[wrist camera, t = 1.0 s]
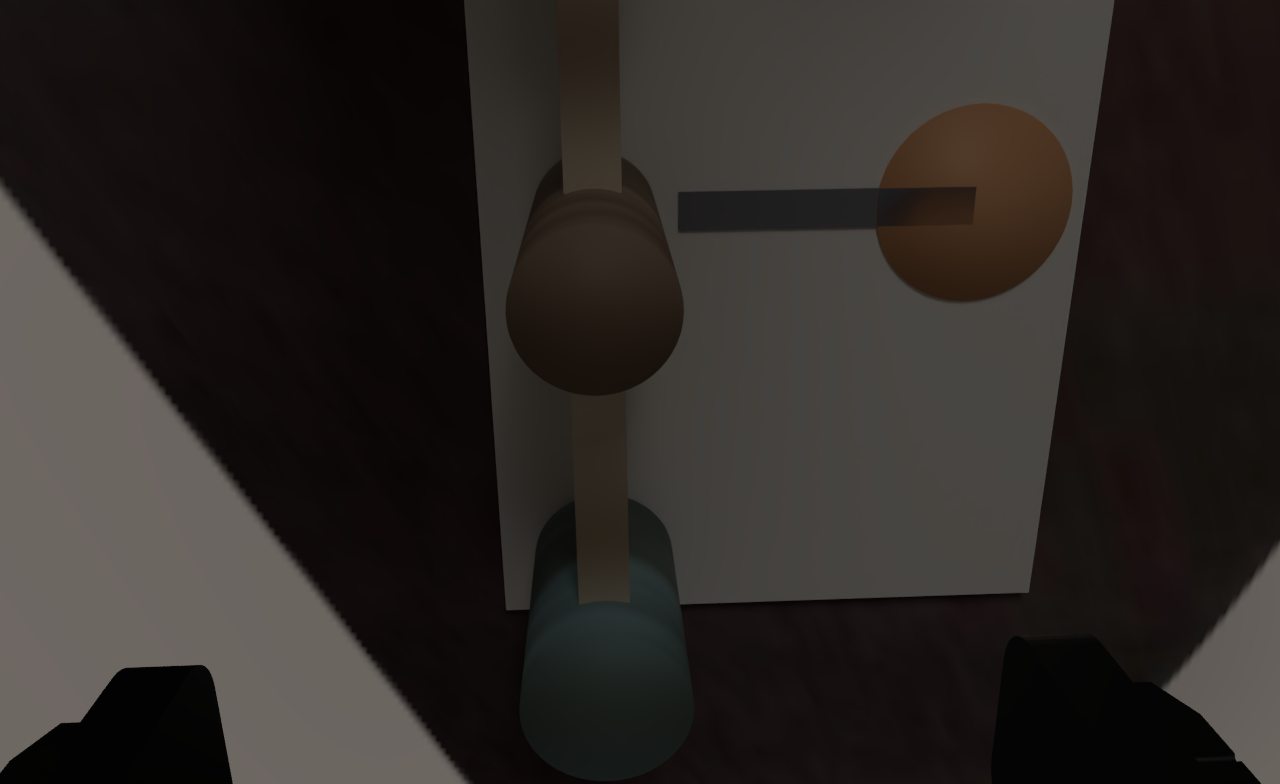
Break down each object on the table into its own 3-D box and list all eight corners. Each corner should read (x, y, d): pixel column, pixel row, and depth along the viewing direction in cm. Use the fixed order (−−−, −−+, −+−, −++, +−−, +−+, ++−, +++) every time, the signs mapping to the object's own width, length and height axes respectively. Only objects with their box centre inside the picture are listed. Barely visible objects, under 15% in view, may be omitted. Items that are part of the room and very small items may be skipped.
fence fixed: (508, -281, 23) (458, -438, 14) (652, -280, 23) (686, -438, 15) (535, 273, 27) (510, 397, 19) (656, 270, 28) (683, 393, 19)
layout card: (447, -276, 23) (444, -281, 23) (1146, -278, 24) (1157, -284, 23) (507, 603, 31) (506, 611, 31) (1023, 585, 32) (1030, 594, 32)
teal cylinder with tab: (520, 292, 27) (497, 388, 21) (672, 289, 27) (697, 382, 21) (538, 616, 31) (523, 784, 24) (672, 611, 31) (693, 777, 24)
